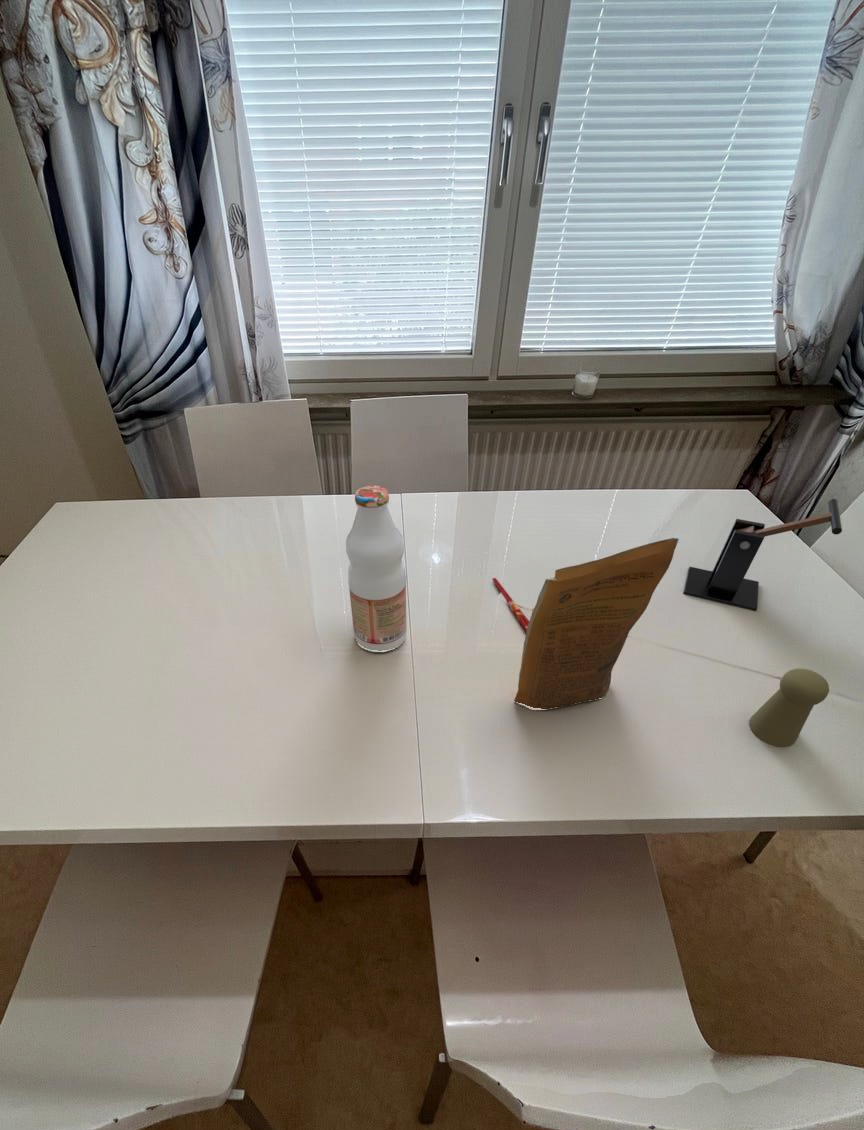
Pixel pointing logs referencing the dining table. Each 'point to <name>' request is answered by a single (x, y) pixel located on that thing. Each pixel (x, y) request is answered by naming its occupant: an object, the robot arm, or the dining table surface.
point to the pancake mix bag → (587, 624)
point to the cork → (789, 707)
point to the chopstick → (513, 606)
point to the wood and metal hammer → (805, 522)
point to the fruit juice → (376, 573)
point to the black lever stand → (730, 571)
